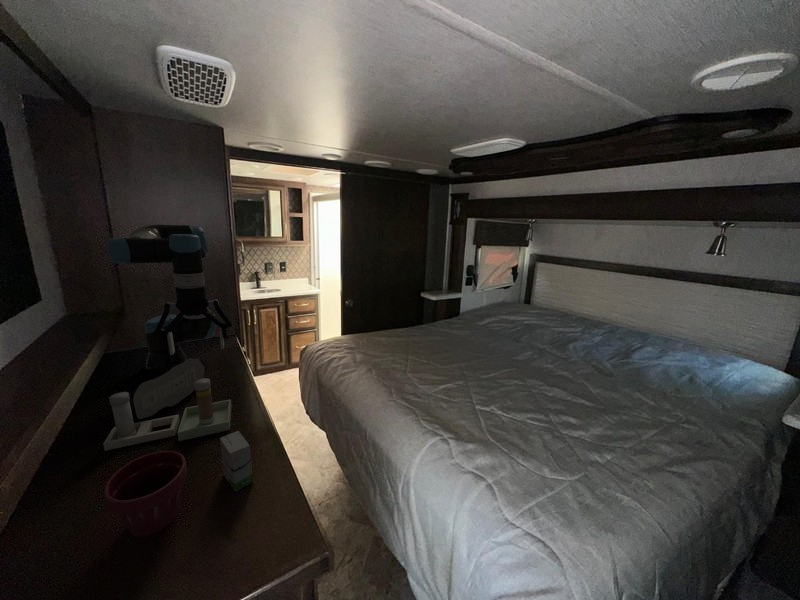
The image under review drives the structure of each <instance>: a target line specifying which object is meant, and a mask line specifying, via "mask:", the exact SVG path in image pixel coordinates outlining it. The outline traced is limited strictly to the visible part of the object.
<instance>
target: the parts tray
mask: <svg viewBox="0 0 800 600" xmlns="http://www.w3.org/2000/svg"><path fill="white" fill-rule="evenodd" d="M212 406H213V413H214V417H215V420H214V421H213V422H212V423H210V424H208V425H201V424H200V423H199V410H198V405H194V406H187V407H185V408H184V411H183V414H182V417H181V419H180V422H179V425H178V428H177V431H176V434H177V439H178V442H182V441H186V440H190V439H194V438H199V437H204V436H208V435H212V434H217V433H222V432H226V431H230V430H231V421H232V420H231V419H232V399H226V400H219V401H215V402H212Z"/></svg>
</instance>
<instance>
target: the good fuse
mask: <svg viewBox="0 0 800 600" xmlns="http://www.w3.org/2000/svg"><path fill="white" fill-rule="evenodd" d="M108 400H109V404H110V406H111V409H112V414H113V419H114V425H115V427H116V429H117V433H118V435H117V439H120V438H125V437H130V436H135V435H136V434H137V431H136V429H135V427H134V423H135V422H134V417H132V412H131V407H130V401H129V400H130V393H129V392H127V391H121V392H117V393H114V394H112V395H110V396H109V398H108Z"/></svg>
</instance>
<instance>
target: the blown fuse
mask: <svg viewBox="0 0 800 600" xmlns="http://www.w3.org/2000/svg"><path fill="white" fill-rule="evenodd" d="M194 385H195V390H194V391H195V394H196V395H195V396H196V401H197V406H198V410H199V423H200V424H201V425H208V424H210V423H212V422H213V421H214V420H215V417H214V413H213V406H212V403H213V399H212V390H211V385H212V384H211V379H210V378H206V377H204V379H200V380H197V381H196V382H195V383H194Z"/></svg>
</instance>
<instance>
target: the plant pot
mask: <svg viewBox="0 0 800 600" xmlns="http://www.w3.org/2000/svg"><path fill="white" fill-rule="evenodd" d="M187 476H188V467H187V462H186V458H185V456H184V455H183V454H182V453H180V452H178V451H175V450H160V451H155V452H151V453H147V454H145V455H142V456H140V457H137V458H135V459H133V460H131V461H129V462H128V463H126V464H124V465H123V466H121V467H120V468H119V469H118V470H116V471H115V472H114V474H113V475H112V476H111V477H110V478H109V479H108V481H107V482H106V484H105V486H104V491H103V493H104V499H105V505H106V507H107V509H108V511H110V513H112V514H114V515H117V516H118V517H119V519H120V520H121V521H122V523H123V525H124V526H125V527H126V529H127V530H128V531H129V533H130V534H131V535H132V536H134V537H138V538H139V537H140V538H142V537H149V536H151V535H154V534H156V533H158V532H160V531H162V530H163V529H165V528H166V527H167V526H169V525H170V524H171V523H172V522H173V521H174V520H175V519H176V517H177V515H178V513H179V510H180V505H181V498H182V490H183V485H184V483H185V481H186V479H187Z"/></svg>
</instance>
